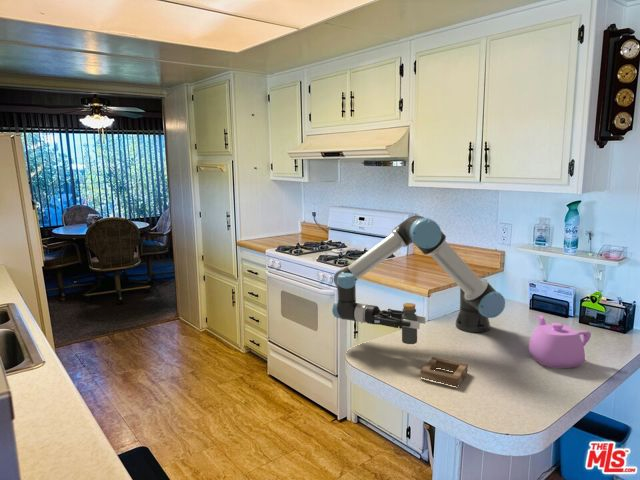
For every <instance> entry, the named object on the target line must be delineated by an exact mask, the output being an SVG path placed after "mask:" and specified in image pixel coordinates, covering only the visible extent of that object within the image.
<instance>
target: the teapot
mask: <svg viewBox="0 0 640 480" xmlns="http://www.w3.org/2000/svg"><path fill="white" fill-rule="evenodd" d="M537 319H538V324H539V325H537V326H536V328H535V329H534V331H533V333H532V334H531V337H530V338H529V339H530V340H529V344H528V351H529V353H530V356H532V358H533V359H534V360H535V362H537V363H539V364H540V365H542V366H544V367H548V368H553V369H554V368H558V369H560V368H561V369H569V368H577V367H581V366H582V364H583V363H584V362H585V359H586V354H585V353H586V352H585V345H587V343H588V342H589V341H590V339H591V336H592V332H590V331H589V330H586V329H585V330H582V329H581V330H575V329H573V328H571V326H568V325H564V324H563V323H560V322H552V323H551V324H547V323H546V319H545V317H544V316H543V315H542V314H537ZM580 335H583V336H582V338H581V336H580Z"/></svg>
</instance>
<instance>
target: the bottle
mask: <svg viewBox="0 0 640 480" xmlns="http://www.w3.org/2000/svg"><path fill="white" fill-rule="evenodd" d="M402 306H403V308H402V311H403V312H404V314H403V315H402V321H403V319H406V320H412V321H417V315H418V314H416V312H417V308H416V304H415V303H413V302H405V303H403V304H402ZM401 341H402V342H401V343H403V344H406V345H415V344H417V343H418V329H415V328H409V327H403V326H402V329H401Z"/></svg>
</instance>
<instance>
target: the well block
mask: <svg viewBox="0 0 640 480" xmlns="http://www.w3.org/2000/svg"><path fill="white" fill-rule="evenodd" d="M468 366H469V365H468V363H463V362H459V361H454V360H450V359H445V358H440V357H435V356H432V357H431V358H430V359H429V360H428V361H427V362H426V364H424V366H423V367H422V368H421V369H420V373H419V374H420V375H419V376H420V377H422V378H425V379H429V380H433V381H436V382H441V383H444V384H448V385H452V386H456V387H457V386H458V385H459V384H460V382H461V381H462V379H463V378H464V376H465V375H466V374H467V375H468V373H467V372H469V371H468V370H469V369H468V368H469V367H468ZM436 368H441V369H445V370H449V371H453V372H454V373H446V372H444V371H440V370H437V369H436ZM435 369H436V370H435ZM434 370H435V371H434ZM467 375H466V376H467ZM466 376H465V377H466ZM420 377H419V378H420ZM464 379H465V378H464ZM464 379H463V380H464ZM462 382H463V381H462ZM462 382H461V383H462ZM460 385H461V384H460ZM460 385H459V386H460Z"/></svg>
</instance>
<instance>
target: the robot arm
mask: <svg viewBox="0 0 640 480" xmlns="http://www.w3.org/2000/svg"><path fill="white" fill-rule="evenodd" d="M391 231H392V232H391V234H389V235H388V236H386V237H385V238H383V239H382V240H381V241H379V242H378V243H377V244H376V245H374V246H373V247H372V248H370V249H369V250H367V251H365V252H364V253H363V254H362V255H360V256H359V257H358V258H356V259H355V260H354V261H353V262H352V263H350V264H349V265H348V266H346V267H345V268H343V269H340V270H336V272H335V273H334V274H333V282H334V285H335V286H336V288H337V300H335V301H334V303H333V305H332V311H331V312H332V314H333V317H335V318H337V319H341V320H343V321H344V320H345V321H346V320H347V321H353V322H357V323H360V324H369V325H378V326H386V327H389V328H395V329H398V328H399V329H400V330H402V326H403V327H409V328H415V329H417V330H420V324H426V320H427V319H426V317H427V316H424V315H418V314H416V315H417V321H412V320H406V319H403V321H402V315H403V314H404V312H403V310H398V309H392V308H388V309H387V310H385V309H383V310H381V309H380V307H379V306H378V305H372V304H367V303H361V302H360V303H359V302H358V303H357V296H356V293H357V292H356V291H357V290H356V288H357V287H356V284H357V281H358V280H359V279H361V278H362V277H363V276H365V275H366V274H368V273H369V272H370V271H371V270H373V269H374V268H375V267H377V266H379V265H380V264H381V263H382V262H383V261H386V259H387V258H389V257H390V256H392V255H393V254H394V253H396V252H398V250H400V249H401V248H403V247H404V248H406V247H408V246H409V245H411V244H414V245H415V246H416V248H418V250H419V251H421V253H422V254H423V255H426V256H427V255H429V256H430V257H431V258H432V259H433V260H434V261H435V263H437V264H438V265H439V267H441V269H442V270H443V271H444V273H446V274H447V275H448V276H449V277H450V278H451V280H452V281H454V283H455V284H456V285H457V286H458V287H459V289H460V290H459V291H460V292H459V311H458V314H457V316H456V319H455V327H456V328H457V329H459V330H461V331H462V332H463V331H464V332H468V333H469V332H470V333H485V332H488V331H489V330H491V329H490V328H491V322H490V319H494V318H496V317H498V316H499V315H501V314H502V312H503V311H504V310H505V308H506V300H505V297H504V296H503V295H502V294H501V293H500V292H499V291H497V290H496V289H495V288H494V287H493V286H492V285H491V284H490V283H489V281H488V280H487V279H486V278H480V277H479V276H478V275H477V274H476V273H475V272H474V271H473V270H472V269H471V267H469V265H468V264H467V263H466V262H465V261H464V260H463V258H461V256H459V254H458V253H457V252H456V251H455V250H454V249H453V247H452V246H451V245H450V244H448V242H447V241H446V240H447V239H446V238H447V236H446V235H445V234H444V232H443V231H442V229H441V228H440V225H439V224H438V223H437V222H436V221H434V220H433V219H431V218H428V217H424V216H421V215H412V216H410V217H408V218H406V219H405V220H403V221H402V222H401V223H399V224H398V225H397V226H395V227H394V228H393V229H392V230H391Z"/></svg>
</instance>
